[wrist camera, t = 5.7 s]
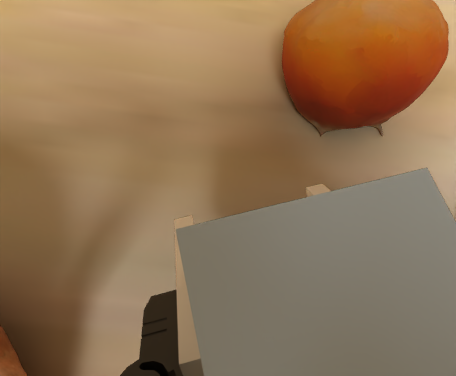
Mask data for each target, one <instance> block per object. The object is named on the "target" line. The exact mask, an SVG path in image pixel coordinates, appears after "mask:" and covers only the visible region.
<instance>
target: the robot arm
mask: <svg viewBox="0 0 456 376" xmlns="http://www.w3.org/2000/svg"><path fill="white" fill-rule="evenodd" d="M330 191H331V190H329V189H328V188H327V187H326V186H325V185H324V184H318V185H314V186H310V187H306V197H309V196H313V195H317V194H321V193H326V192H330ZM191 225H195V224H194V221H193V217H192V215H190V216H186V217H182V218H178V219H174V229H179V228H183V227H187V226H191ZM175 260H176V290H173V291H170V292H166V293H162V294H158V295H154V296H151V298H150V300H149V302H148V303H147V305H146V307H145V309H144V315H143V327H142V339H141V346H140V357H139V360H137V361H136V362H134V363H133V364H131V365H130V366H128V367H127V368H126V369H125V371H124V372H123V373H122V374H121V375H120V376H204V373H203V368H202V362H201V357H200V352H199V347H198V342H197V337H196V332H195V327H194V322H193V317H192V312H191V306H190V301H189V296H188V291H187V286H186V281H185V276H184V271H183V266H182V261H181V256H180V250H179V245H178V240H177V235H176V230H175Z"/></svg>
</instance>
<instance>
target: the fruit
mask: <svg viewBox="0 0 456 376" xmlns="http://www.w3.org/2000/svg"><path fill="white" fill-rule="evenodd" d="M448 33H449V32H448V24H447V22H446V21H445V19H444V17H443V15H442V13H441V11H440V9H439V7H438V6H437V4H436V3H435V2H434V1H433V0H315V1H314V2H312V3H311V4H310V5H308V6H307V7H305V8H304V9H302V10H301V11H299V12H298V13H296V15H295V16H294V17H293V18H292V19H291V20H290V22H289V23H288V25H287V27H286V29H285V31H284V42H283V54H282V67H283V73H284V78H285V83H286V86H287V89H288V92H289V94H290V96H291V98H292V100H293V103H294V105H295V107H296V110H297V111H298V112H299V113H300V114H301V115H302V116H303V117H304V118H306V119H307V120H308V121H309V122H310V123H312V124H313V125H314V126H315V127H316V128H317V129H318V131H319V132H320V137H321V135H322V134H324V133H325V132H327V131H332V130H339V129H349V128H359V127H363V126H373V127H376V128H378V130H379V131H380V133H381V135H382V136H383V133H382V127H381V123H383V122H386V121H387V120H388V119H390V118H391V117H392V116H394V115H396V114H397V113H399V112H401V111H403V110H404V109H406V108H407V107H408V106H409V105H410V104H412V103H413V102H414V101H415V100H416V99H417V98H418V97H419V96H420V95H421V94H422V93H423V92H424V91H425V90H426V88H427V87H428V86H429V85H430V84H431V82H432V81H433V80H434V79H435V77H436V76H437V74H438V73H439V71H440V69H441V68H442V66H443V64H444V62H445V60H446V58H447V54H448Z"/></svg>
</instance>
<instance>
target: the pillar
mask: <svg viewBox="0 0 456 376" xmlns="http://www.w3.org/2000/svg"><path fill="white" fill-rule="evenodd" d="M175 230H176V235H177V240H178V245H179V250H180V256H181V261H182V266H183V271H184V276H185V281H186V286H187V291H188V296H189V301H190V306H191V312H192V317H193V322H194V327H195V332H196V337H197V342H198V347H199V352H200V357H201V362H202V368H203V373H204V376H456V222H455V220H454V218H453V216H452V214H451V212H450V210H449V208H448V206H447V204H446V203H445V201H444V199H443V197H442V195H441V193H440V191H439V189H438V187H437V186H436V184H435V182H434V180H433V178H432V176H431V174H430V172H429V170H428V168H423V169H419V170H415V171H411V172H407V173H403V174H399V175H395V176H391V177H387V178H383V179H379V180H374V181H370V182H366V183H362V184H358V185H354V186H350V187H346V188H342V189H338V190H334V191H330V192H326V193H321V194H317V195H313V196H309V197H305V198H301V199H297V200H293V201H289V202H285V203H281V204H277V205H272V206H268V207H264V208H260V209H256V210H252V211H248V212H244V213H240V214H236V215H232V216H228V217H224V218H219V219H215V220H211V221H207V222H203V223H199V224H195V225H191V226H187V227H183V228H179V229H175Z"/></svg>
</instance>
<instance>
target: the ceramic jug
mask: <svg viewBox="0 0 456 376" xmlns="http://www.w3.org/2000/svg"><path fill="white" fill-rule="evenodd" d="M0 376H27V374H26V373H25V371H24V370H23V368H22V366H21V364H20V361H19V358H18V356H17V353H16V352H15V351H14V349H13V347H12V345H11V343H10V340H9V339H8V337H7V335H6V333H5V331H4V330H3V328H2V327H1V325H0Z"/></svg>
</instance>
